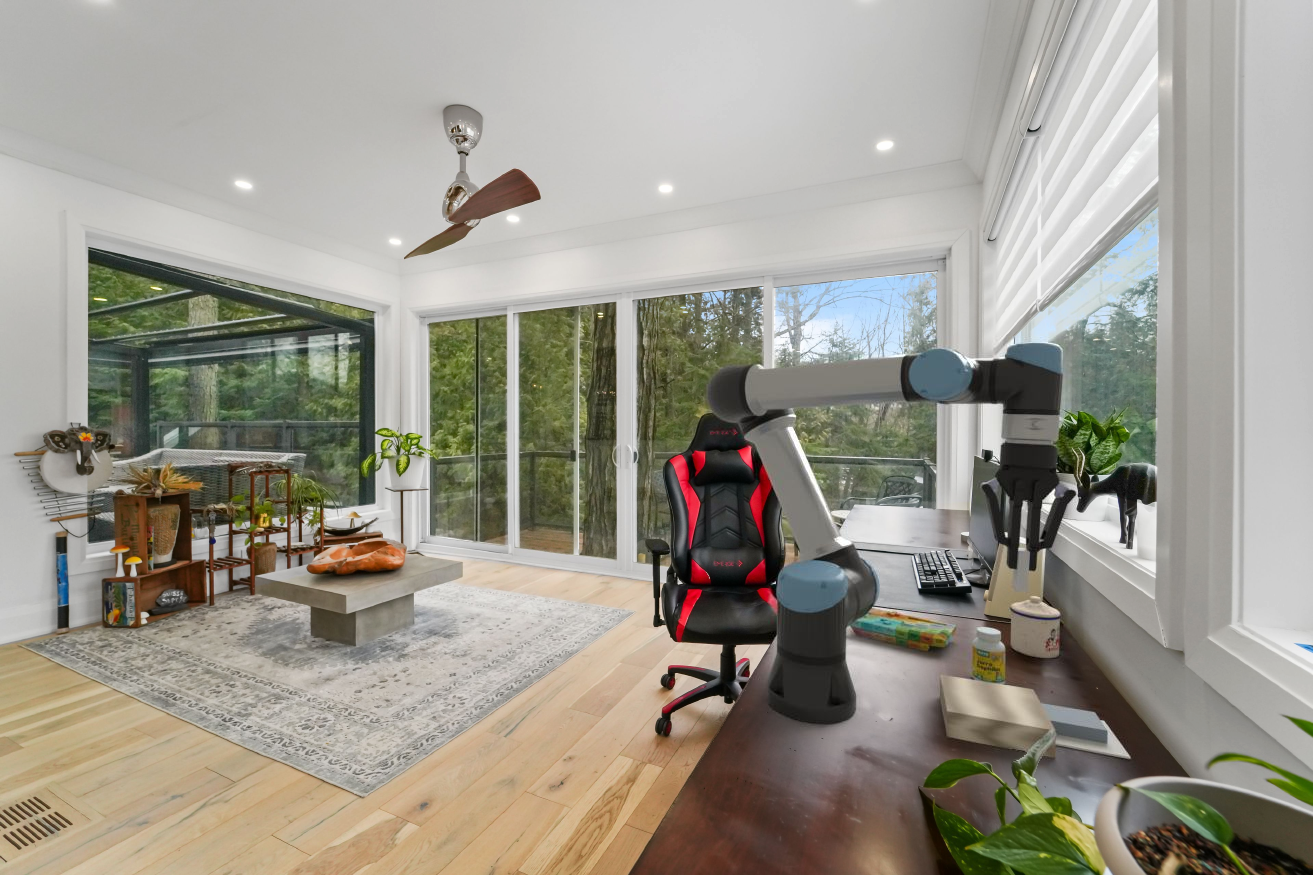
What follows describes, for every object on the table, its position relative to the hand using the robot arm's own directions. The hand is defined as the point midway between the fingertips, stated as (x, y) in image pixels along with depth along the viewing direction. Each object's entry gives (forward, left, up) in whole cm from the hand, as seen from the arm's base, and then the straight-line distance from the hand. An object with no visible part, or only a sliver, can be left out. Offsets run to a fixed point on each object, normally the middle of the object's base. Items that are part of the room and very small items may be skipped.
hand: (1019, 589), depth 89 cm
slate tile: (+8, +2, -22) cm, 23 cm away
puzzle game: (-16, +34, -23) cm, 44 cm away
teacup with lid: (+10, +39, -22) cm, 46 cm away
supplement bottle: (-2, +17, -22) cm, 28 cm away
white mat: (+9, +2, -22) cm, 24 cm away
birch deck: (-4, -1, -22) cm, 23 cm away
